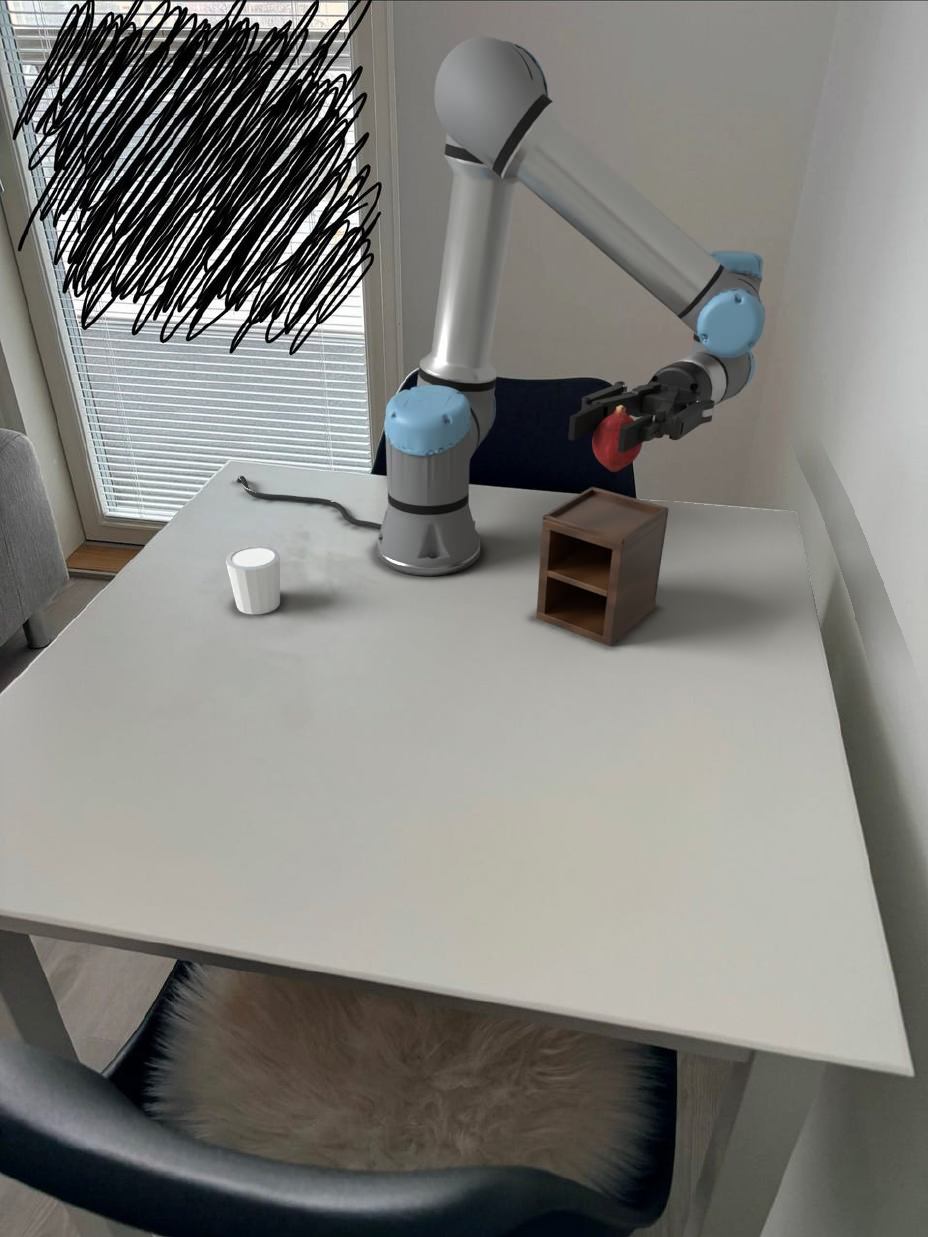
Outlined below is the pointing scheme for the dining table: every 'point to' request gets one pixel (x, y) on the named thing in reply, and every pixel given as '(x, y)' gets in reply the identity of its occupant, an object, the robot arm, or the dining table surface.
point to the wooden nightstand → (600, 563)
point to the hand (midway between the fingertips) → (596, 434)
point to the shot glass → (255, 578)
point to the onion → (613, 441)
